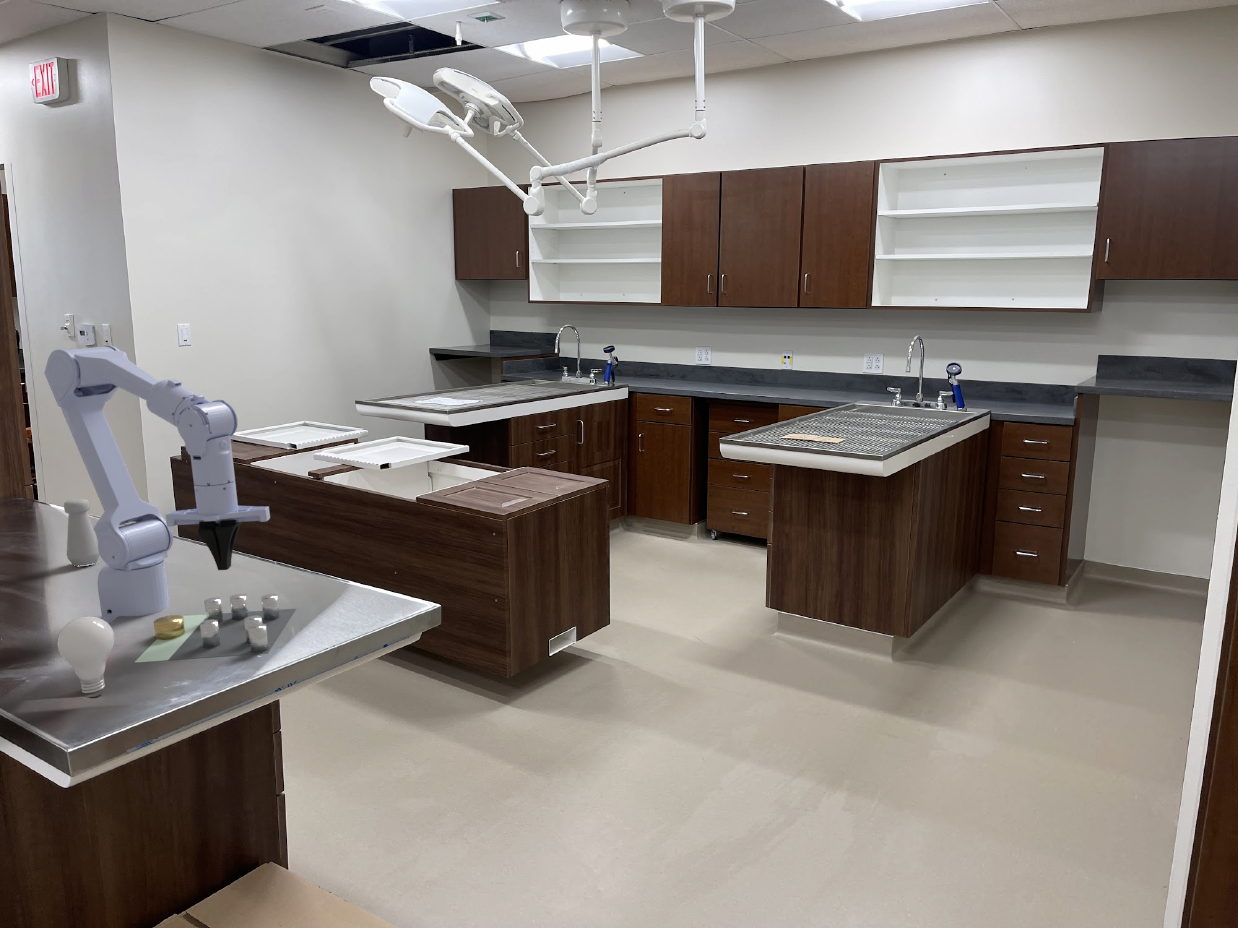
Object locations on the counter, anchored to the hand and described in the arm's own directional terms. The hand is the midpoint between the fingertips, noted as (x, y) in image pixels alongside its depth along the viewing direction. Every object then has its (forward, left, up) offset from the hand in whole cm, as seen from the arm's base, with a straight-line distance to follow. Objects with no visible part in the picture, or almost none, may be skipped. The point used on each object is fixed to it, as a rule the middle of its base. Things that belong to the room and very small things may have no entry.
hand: (224, 568), depth 139 cm
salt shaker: (-39, +41, -10) cm, 57 cm away
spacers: (+3, -6, -9) cm, 11 cm away
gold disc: (-7, -4, -9) cm, 12 cm away
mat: (0, -5, -10) cm, 11 cm away
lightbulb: (-11, -22, -10) cm, 27 cm away
